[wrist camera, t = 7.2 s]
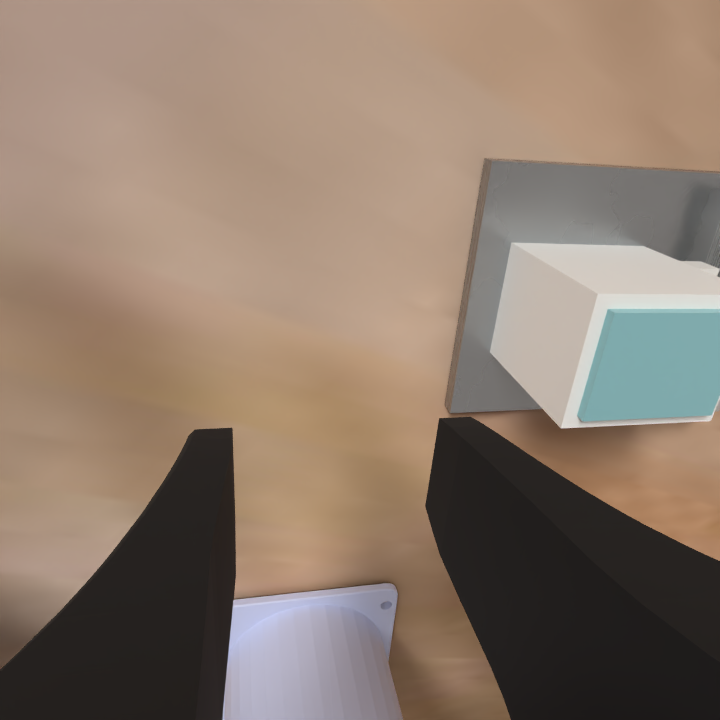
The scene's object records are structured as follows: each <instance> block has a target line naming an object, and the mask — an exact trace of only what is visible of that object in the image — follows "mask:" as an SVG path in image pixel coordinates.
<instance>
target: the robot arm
mask: <svg viewBox="0 0 720 720" xmlns="http://www.w3.org/2000/svg"><path fill="white" fill-rule="evenodd" d="M426 510H427V513H428V517H429V520H430V524H431V527H432V531H433V534H434V537H435V540H436V543H437V547H438V550H439V553H440V556H441V558H442V560H443V563H444V565H445V567H446V569H447V572H448V574H449V576H450V578H451V581H452V583H453V585H454V587H455V590H456V592H457V594H458V596H459V598H460V601H461V603H462V605H463V607H464V609H465V612H466V614H467V616H468V618H469V620H470V622H471V625H472V627H473V629H474V631H475V633H476V636H477V638H478V640H479V642H480V644H481V646H482V649H483V651H484V653H485V655H486V657H487V660H488V662H489V664H490V666H491V668H492V671H493V673H494V676H495V678H496V680H497V683H498V685H499V688H500V690H501V693H502V695H503V698H504V701H505V703H506V706H507V709H508V712H509V715H510V718H511V720H720V561H718V560H716V559H713V558H711V557H709V556H707V555H705V554H703V553H700V552H698V551H696V550H694V549H692V548H690V547H688V546H686V545H684V544H682V543H680V542H678V541H676V540H674V539H672V538H670V537H668V536H666V535H664V534H662V533H660V532H658V531H656V530H654V529H652V528H650V527H648V526H646V525H644V524H642V523H640V522H639V521H637V520H635V519H633V518H631V517H629V516H627V515H626V514H624V513H622V512H620V511H619V510H617V509H615V508H614V507H612V506H610V505H608V504H607V503H605V502H603V501H602V500H600V499H598V498H597V497H595V496H593V495H591V494H590V493H588V492H586V491H585V490H583V489H582V488H580V487H578V486H577V485H575V484H573V483H572V482H570V481H569V480H567V479H566V478H564V477H562V476H561V475H559V474H558V473H556V472H555V471H553V470H552V469H550V468H549V467H547V466H545V465H544V464H542V463H541V462H539V461H538V460H536V459H535V458H533V457H532V456H530V455H529V454H527V453H526V452H524V451H523V450H522V449H520V448H519V447H517V446H516V445H514V444H513V443H511V442H510V441H508V440H507V439H505V438H504V437H502V436H501V435H499V434H498V433H496V432H495V431H493V430H492V429H490V428H488V427H487V426H485V425H484V424H482V423H480V422H479V421H477V420H475V419H473V418H471V417H459V418H439V424H438V430H437V436H436V443H435V449H434V455H433V461H432V468H431V474H430V480H429V487H428V493H427V499H426ZM235 578H236V549H235V498H234V465H233V433H232V428H219V429H197V430H194V431H193V432H192V433H191V434H190V435H189V436H188V438H187V441H186V443H185V445H184V447H183V449H182V451H181V453H180V454H179V456H178V458H177V460H176V462H175V463H174V465H173V467H172V468H171V470H170V472H169V473H168V475H167V477H166V478H165V480H164V481H163V483H162V484H161V486H160V487H159V489H158V490H157V492H156V493H155V495H154V496H153V498H152V499H151V501H150V502H149V504H148V505H147V507H146V508H145V510H144V511H143V512H142V514H141V515H140V517H139V518H138V519H137V521H136V522H135V523H134V525H133V526H132V527H131V528H130V530H129V531H128V532H127V534H126V535H125V536H124V537H123V539H122V540H121V541H120V543H119V544H118V545H117V547H116V548H115V549H114V550H113V552H112V553H111V554H110V555H109V557H108V558H107V559H106V560H105V561H104V563H103V564H102V565H101V566H100V567H99V569H98V570H97V571H96V572H95V573H94V574H93V576H92V577H91V578H90V579H89V580H88V581H87V582H86V584H85V585H84V586H83V587H82V588H81V589H80V590H79V591H78V592H77V593H76V595H75V596H74V597H73V598H72V599H71V600H70V601H69V602H68V603H67V604H66V605H65V606H64V608H63V609H62V610H61V611H60V612H59V613H58V614H57V615H56V616H55V617H54V618H53V619H52V620H51V621H50V622H49V623H48V624H47V625H46V626H45V627H44V628H43V629H42V630H41V631H40V632H39V633H38V634H37V635H36V636H35V637H34V638H33V639H32V640H31V641H30V642H29V643H28V644H27V645H26V646H25V647H24V648H23V649H22V650H21V651H20V652H19V653H18V654H17V655H16V656H14V657H13V658H12V659H11V660H10V661H9V662H8V663H7V664H6V665H5V666H4V667H3V668H2V669H1V670H0V720H403V717H402V713H401V709H400V705H399V701H398V698H397V694H396V690H395V686H394V682H393V679H392V675H391V671H390V667H389V663H388V661H389V654H390V647H391V640H392V633H393V626H394V619H395V612H396V605H397V598H398V592H397V589H396V587H395V586H394V585H393V584H391V583H383V584H374V585H364V586H355V587H346V588H337V589H328V590H318V591H309V592H300V593H291V594H281V595H272V596H263V597H254V598H245V599H235V600H233V599H234V589H235ZM386 601H387V602H386Z"/></svg>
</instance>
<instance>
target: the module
mask: <svg viewBox="0 0 720 720" xmlns="http://www.w3.org/2000/svg"><path fill="white" fill-rule="evenodd" d="M719 270H720V269H719V268H717V267H714V266H711V265H709V264H706V263H704V262H701V261H679V260H676V259H674V258H671V257H669V256H667V255H664V254H662V253H659V252H657V251H654V250H652V249H649V248H647V247H645V246H621V245H584V244H548V243H511V247H510V252H509V257H508V262H507V267H506V273H505V278H504V283H503V288H502V293H501V298H500V303H499V308H498V313H497V318H496V323H495V329H494V334H493V339H492V344H491V349H490V353H491V354H492V355H493V356H494V357H495V358H496V359H497V361H498V362H499V363H500V364H501V365H502V366H503V367H504V368H505V369H506V370H507V371H508V372H509V373H510V374H511V376H512V377H513V378H514V379H515V380H516V381H517V382H518V383H519V384H520V385H521V386H522V387H523V388H524V389H525V391H526V392H527V393H528V394H529V395H530V396H531V397H532V398H533V399H534V400H535V401H536V402H537V403H538V404H539V406H540V407H541V408H542V409H543V410H544V411H545V412H546V413H547V414H548V415H549V416H550V417H551V418H552V420H553V421H554V422H555V423H556V424H557V425H558V426H559V427H560V428H580V427H600V426H620V425H640V424H660V423H681V422H701V421H711V419H712V417H713V414H714V412H715V410H716V407H717V405H718V402H719V400H720V277H718V276H717V275H718V273H719Z"/></svg>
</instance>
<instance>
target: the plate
mask: <svg viewBox="0 0 720 720" xmlns="http://www.w3.org/2000/svg"><path fill="white" fill-rule="evenodd" d="M719 222H720V172H712V171H695V170H678V169H660V168H643V167H626V166H609V165H591V164H574V163H557V162H539V161H522V160H505V159H487V158H485V159H484V165H483V171H482V177H481V184H480V190H479V196H478V202H477V208H476V214H475V221H474V227H473V233H472V239H471V245H470V252H469V258H468V264H467V270H466V276H465V282H464V289H463V295H462V301H461V307H460V313H459V320H458V326H457V332H456V338H455V344H454V350H453V357H452V363H451V369H450V375H449V381H448V388H447V394H446V400H445V406H446V408H447V409H448V411H449V412H450V413H463V412H486V411H508V410H531V409H542V408H541V407H540V406H539V404H538V403H537V402H536V401H535V400H534V399H533V398H532V397H531V396H530V395H529V394H528V393H527V392H526V391H525V389H524V388H523V387H522V386H521V385H520V384H519V383H518V382H517V381H516V380H515V379H514V378H513V377H512V376H511V374H510V373H509V372H508V371H507V370H506V369H505V368H504V367H503V366H502V365H501V364H500V363H499V362H498V361H497V359H496V358H495V357H494V356H493V355H492V354H491V353H490V349H491V344H492V339H493V334H494V329H495V323H496V318H497V313H498V308H499V303H500V298H501V293H502V288H503V283H504V278H505V273H506V267H507V262H508V257H509V252H510V247H511V243H548V244H584V245H621V246H645V247H647V248H649V249H652V250H654V251H657V252H659V253H662V254H664V255H667V256H669V257H671V258H674V259H676V260H679V261H701V262H704V263H705V262H706V259H707V256H708V254H709V251H710V248H711V245H712V242H713V239H714V237H715V234H716V231H717V228H718V225H719Z"/></svg>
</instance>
